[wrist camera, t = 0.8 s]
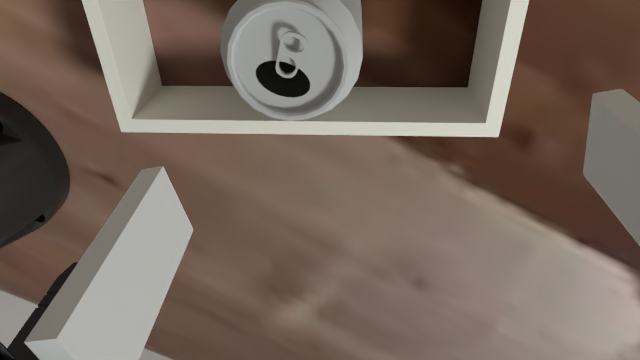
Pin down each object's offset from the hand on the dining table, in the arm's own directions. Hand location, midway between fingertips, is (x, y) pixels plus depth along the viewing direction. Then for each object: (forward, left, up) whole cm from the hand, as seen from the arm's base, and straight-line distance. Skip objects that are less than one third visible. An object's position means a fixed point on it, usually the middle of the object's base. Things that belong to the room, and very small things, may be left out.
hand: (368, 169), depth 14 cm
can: (-4, 0, -22) cm, 22 cm away
